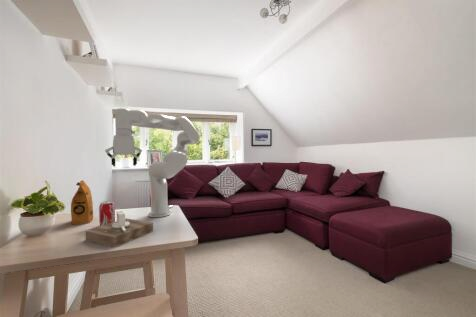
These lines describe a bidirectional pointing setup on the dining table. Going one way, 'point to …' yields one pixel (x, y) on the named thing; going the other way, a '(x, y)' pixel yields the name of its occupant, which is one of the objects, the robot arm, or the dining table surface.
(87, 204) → the coffee package
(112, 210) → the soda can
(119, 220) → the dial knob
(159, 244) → the dining table surface
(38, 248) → the dining table surface
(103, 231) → the flat wooden block
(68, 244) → the dining table surface
